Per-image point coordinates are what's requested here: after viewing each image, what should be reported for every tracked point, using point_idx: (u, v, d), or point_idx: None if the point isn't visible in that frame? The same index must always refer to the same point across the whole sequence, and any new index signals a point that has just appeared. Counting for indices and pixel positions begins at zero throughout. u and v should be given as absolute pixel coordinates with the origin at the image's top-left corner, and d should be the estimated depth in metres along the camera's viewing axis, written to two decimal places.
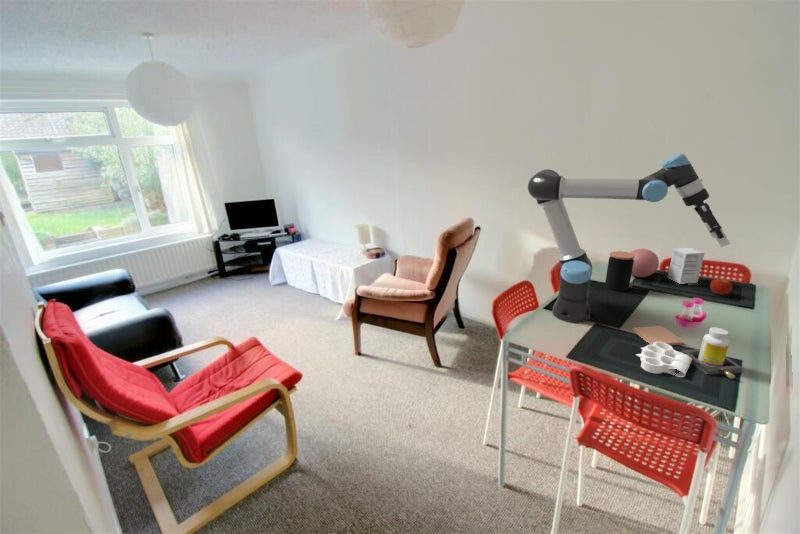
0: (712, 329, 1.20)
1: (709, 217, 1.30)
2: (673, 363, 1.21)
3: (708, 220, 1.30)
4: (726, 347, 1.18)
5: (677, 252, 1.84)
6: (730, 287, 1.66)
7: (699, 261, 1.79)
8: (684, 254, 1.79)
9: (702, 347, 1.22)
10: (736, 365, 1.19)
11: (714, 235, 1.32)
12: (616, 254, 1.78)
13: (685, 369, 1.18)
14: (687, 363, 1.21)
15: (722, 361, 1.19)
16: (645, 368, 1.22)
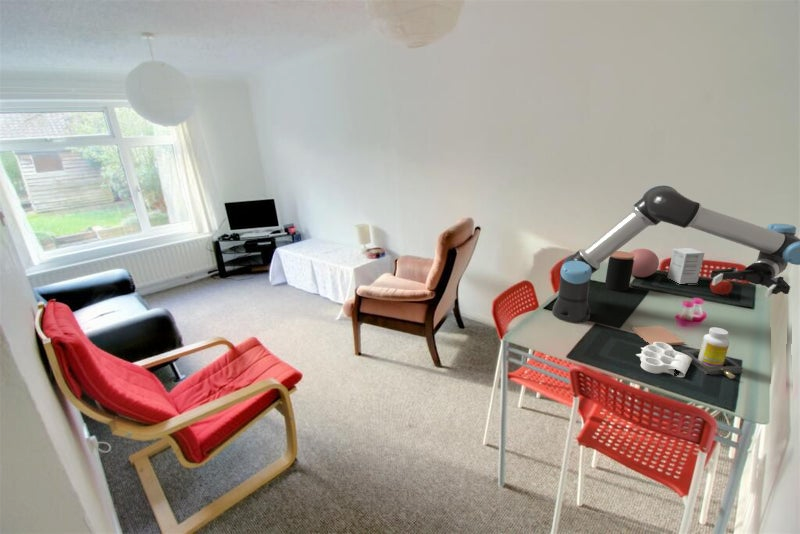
0: (712, 329, 1.20)
1: None
2: (673, 363, 1.21)
3: None
4: (726, 347, 1.18)
5: (677, 252, 1.84)
6: (730, 287, 1.66)
7: (699, 261, 1.79)
8: (684, 254, 1.79)
9: (702, 347, 1.22)
10: (736, 365, 1.19)
11: (774, 286, 1.16)
12: (616, 254, 1.78)
13: (685, 369, 1.18)
14: (687, 363, 1.21)
15: (722, 361, 1.19)
16: (645, 368, 1.22)
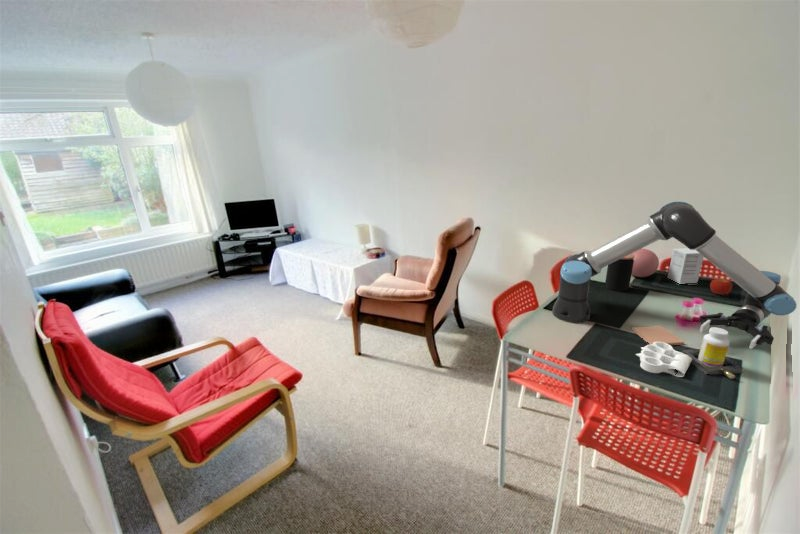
0: (712, 329, 1.20)
1: None
2: (672, 363, 1.21)
3: None
4: (726, 347, 1.18)
5: (677, 252, 1.84)
6: (730, 287, 1.66)
7: (699, 261, 1.79)
8: (684, 254, 1.79)
9: (702, 347, 1.22)
10: (736, 365, 1.19)
11: (759, 337, 1.21)
12: None
13: (684, 369, 1.18)
14: (687, 363, 1.21)
15: (722, 361, 1.19)
16: (644, 368, 1.22)
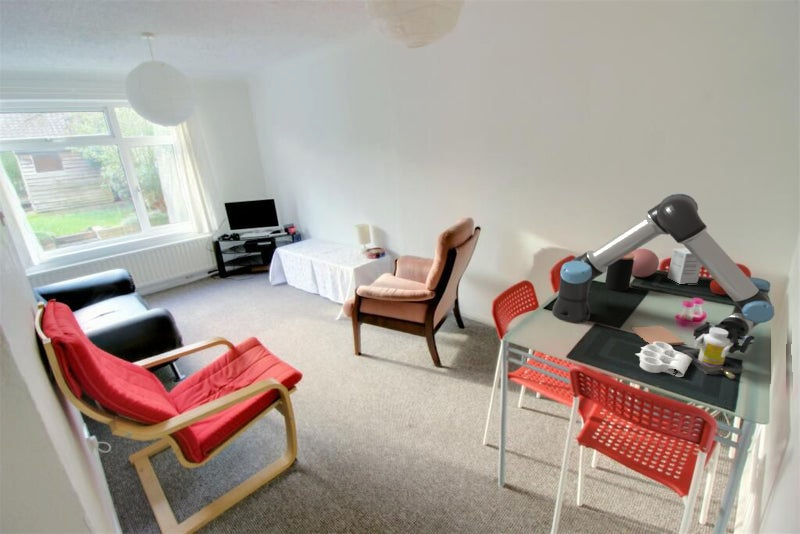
0: (712, 329, 1.20)
1: (748, 344, 1.19)
2: (672, 363, 1.21)
3: (748, 343, 1.18)
4: None
5: (677, 252, 1.84)
6: None
7: None
8: (684, 254, 1.79)
9: (702, 347, 1.22)
10: (736, 365, 1.19)
11: (731, 345, 1.17)
12: None
13: (684, 369, 1.18)
14: (686, 363, 1.21)
15: (722, 361, 1.19)
16: (643, 367, 1.22)
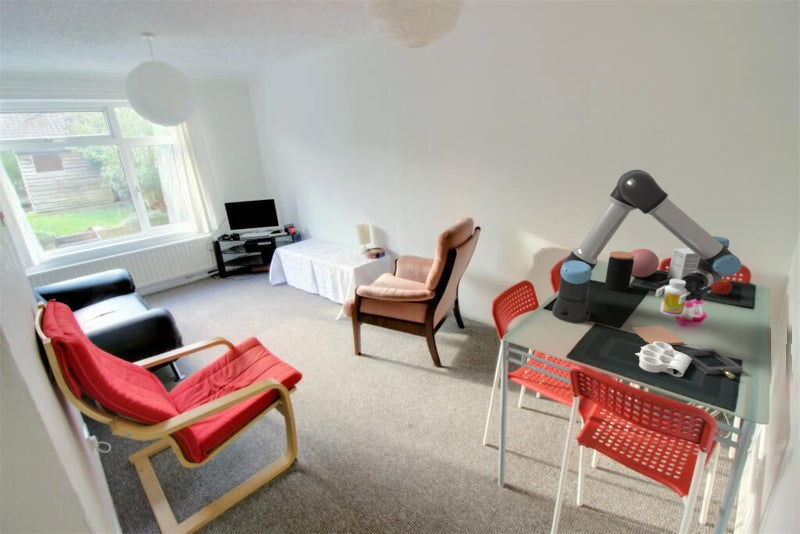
0: (672, 280, 1.30)
1: (705, 293, 1.29)
2: (672, 363, 1.21)
3: (705, 292, 1.29)
4: None
5: (677, 252, 1.84)
6: (730, 287, 1.66)
7: None
8: (684, 254, 1.79)
9: (663, 297, 1.33)
10: (736, 365, 1.19)
11: (688, 293, 1.27)
12: (616, 254, 1.78)
13: (683, 369, 1.18)
14: (686, 363, 1.21)
15: (680, 309, 1.30)
16: (643, 367, 1.22)
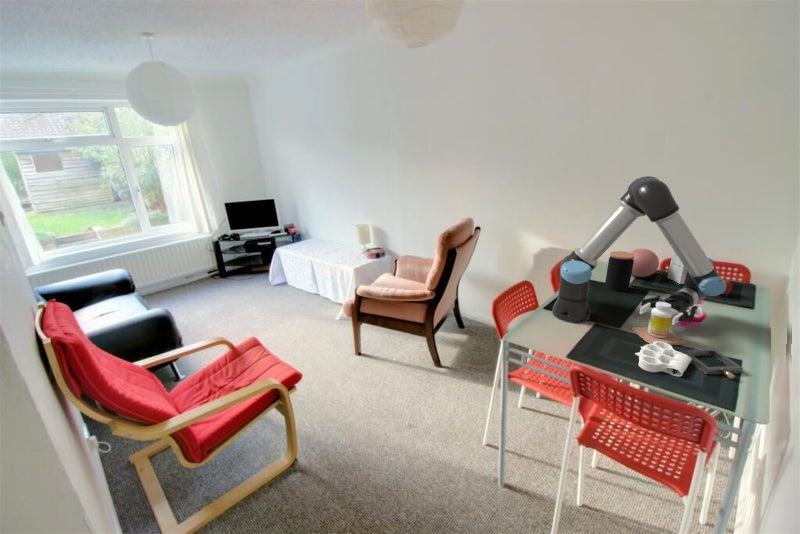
0: (658, 303, 1.37)
1: None
2: (671, 362, 1.21)
3: (694, 312, 1.34)
4: (669, 318, 1.34)
5: None
6: (730, 287, 1.66)
7: None
8: None
9: (650, 319, 1.39)
10: (736, 365, 1.19)
11: (681, 314, 1.32)
12: (616, 254, 1.78)
13: (683, 368, 1.18)
14: (685, 363, 1.21)
15: (666, 331, 1.36)
16: (642, 366, 1.23)
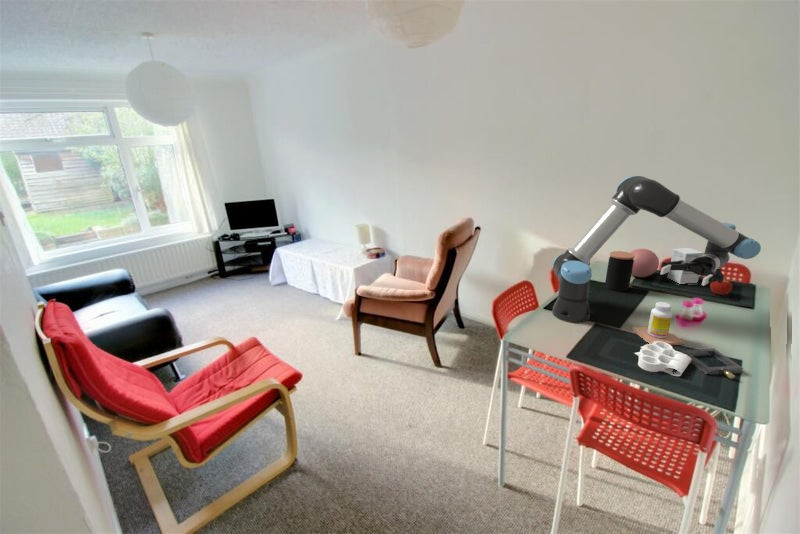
0: (658, 303, 1.37)
1: None
2: (670, 362, 1.22)
3: None
4: (669, 318, 1.34)
5: (677, 252, 1.84)
6: (730, 287, 1.66)
7: None
8: (684, 254, 1.79)
9: (650, 320, 1.39)
10: (736, 365, 1.19)
11: (711, 275, 1.34)
12: (616, 254, 1.78)
13: (682, 368, 1.19)
14: (685, 363, 1.21)
15: (666, 331, 1.36)
16: (641, 366, 1.23)
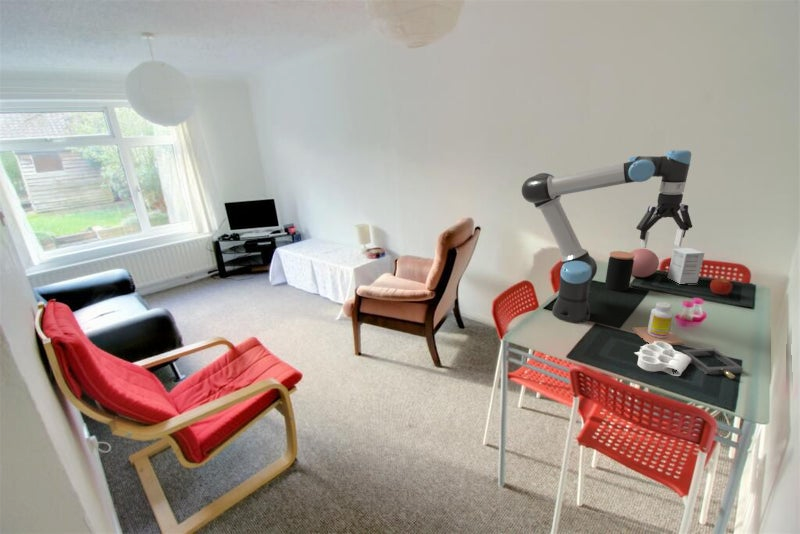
0: (658, 303, 1.37)
1: (645, 217, 1.41)
2: (670, 362, 1.22)
3: (642, 219, 1.41)
4: (669, 318, 1.34)
5: (677, 252, 1.84)
6: (730, 287, 1.66)
7: (699, 261, 1.79)
8: (684, 254, 1.79)
9: (650, 320, 1.39)
10: (736, 365, 1.19)
11: None
12: (616, 254, 1.78)
13: (681, 368, 1.19)
14: (685, 363, 1.21)
15: (667, 331, 1.36)
16: (641, 366, 1.23)
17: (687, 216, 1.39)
